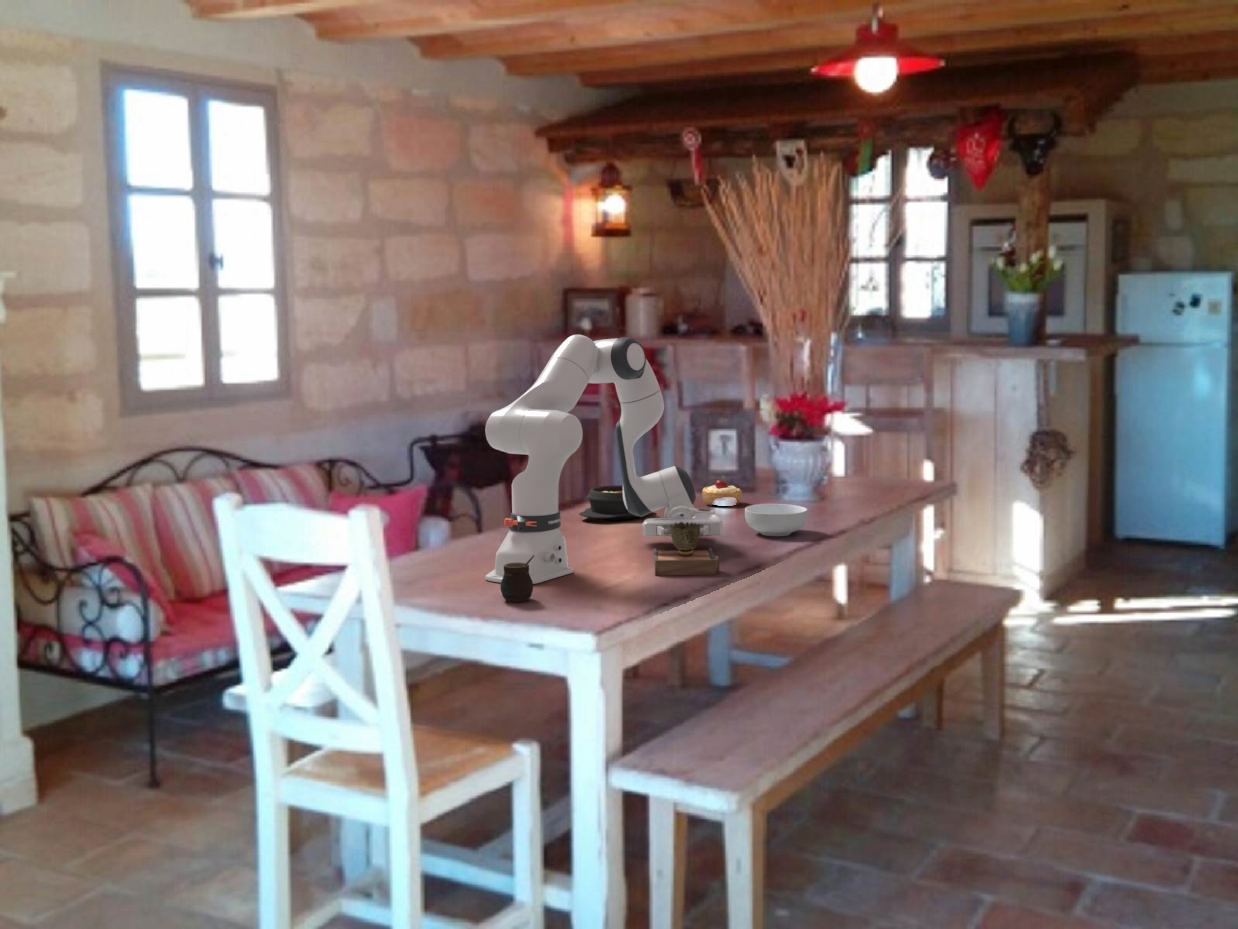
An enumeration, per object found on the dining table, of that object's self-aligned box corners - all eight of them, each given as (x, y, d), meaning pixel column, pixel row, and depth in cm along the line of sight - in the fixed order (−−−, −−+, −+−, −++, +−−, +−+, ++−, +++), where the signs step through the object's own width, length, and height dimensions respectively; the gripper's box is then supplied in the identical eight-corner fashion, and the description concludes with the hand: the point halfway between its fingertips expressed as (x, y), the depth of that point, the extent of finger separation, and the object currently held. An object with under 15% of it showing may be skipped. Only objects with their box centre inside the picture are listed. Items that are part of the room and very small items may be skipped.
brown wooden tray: (719, 574, 331) (718, 560, 331) (655, 575, 331) (655, 560, 331) (711, 548, 362) (711, 535, 362) (653, 549, 362) (653, 536, 362)
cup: (689, 560, 347) (689, 528, 346) (665, 557, 352) (664, 525, 351) (706, 554, 353) (705, 523, 352) (681, 551, 358) (681, 520, 357)
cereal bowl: (777, 542, 369) (777, 515, 369) (732, 534, 382) (731, 508, 381) (820, 533, 381) (820, 507, 380) (774, 526, 393) (774, 501, 392)
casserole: (613, 526, 396) (613, 497, 395) (564, 520, 408) (563, 491, 407) (667, 514, 416) (667, 485, 415) (618, 508, 427) (618, 480, 426)
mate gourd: (498, 598, 311) (497, 553, 310) (532, 595, 313) (531, 551, 312) (503, 605, 304) (501, 559, 303) (537, 602, 306) (536, 557, 305)
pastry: (697, 507, 427) (696, 478, 426) (708, 501, 438) (708, 472, 436) (735, 509, 422) (735, 479, 421) (746, 502, 433) (746, 474, 432)
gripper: (641, 511, 364) (641, 520, 351) (720, 510, 364) (723, 519, 350) (641, 535, 365) (641, 545, 351) (720, 534, 365) (724, 544, 351)
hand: (683, 532), depth 351 cm, fingers open, 8 cm apart
